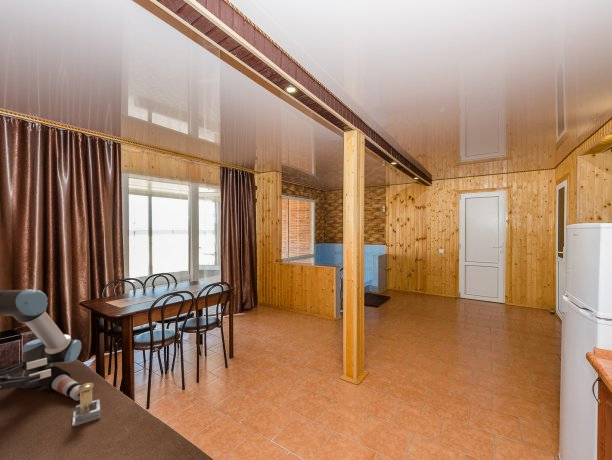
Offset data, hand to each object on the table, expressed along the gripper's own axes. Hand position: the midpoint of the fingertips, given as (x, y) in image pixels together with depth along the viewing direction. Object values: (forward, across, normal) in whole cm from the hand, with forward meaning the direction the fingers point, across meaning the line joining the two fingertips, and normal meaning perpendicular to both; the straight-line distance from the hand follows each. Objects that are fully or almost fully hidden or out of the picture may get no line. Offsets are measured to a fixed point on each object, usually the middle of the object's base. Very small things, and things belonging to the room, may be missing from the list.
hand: (48, 366), depth 127 cm
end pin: (+12, +1, -27) cm, 29 cm away
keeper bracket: (+12, +1, -28) cm, 30 cm away
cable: (+9, -28, -28) cm, 41 cm away
